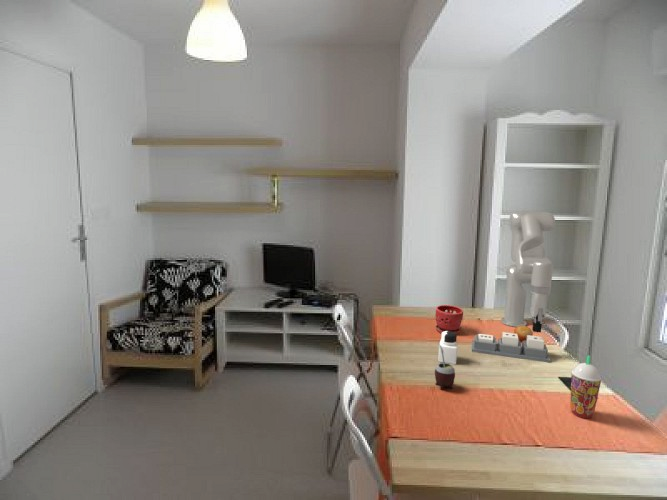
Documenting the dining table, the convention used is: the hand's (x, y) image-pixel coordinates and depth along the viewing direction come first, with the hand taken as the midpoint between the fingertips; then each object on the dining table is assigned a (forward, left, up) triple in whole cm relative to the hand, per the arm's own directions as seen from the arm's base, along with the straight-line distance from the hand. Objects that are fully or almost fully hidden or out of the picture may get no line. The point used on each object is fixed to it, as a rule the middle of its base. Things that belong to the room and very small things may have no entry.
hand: (536, 331), depth 178 cm
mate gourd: (+42, -35, -11) cm, 56 cm away
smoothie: (+45, +9, -11) cm, 47 cm away
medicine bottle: (+18, -35, -11) cm, 41 cm away
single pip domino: (0, 0, -7) cm, 7 cm away
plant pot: (-16, -37, -11) cm, 42 cm away
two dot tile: (0, -10, -7) cm, 12 cm away
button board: (0, -10, -11) cm, 15 cm away
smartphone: (+25, +11, -12) cm, 30 cm away
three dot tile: (0, -20, -9) cm, 22 cm away
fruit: (-17, -3, -11) cm, 21 cm away
